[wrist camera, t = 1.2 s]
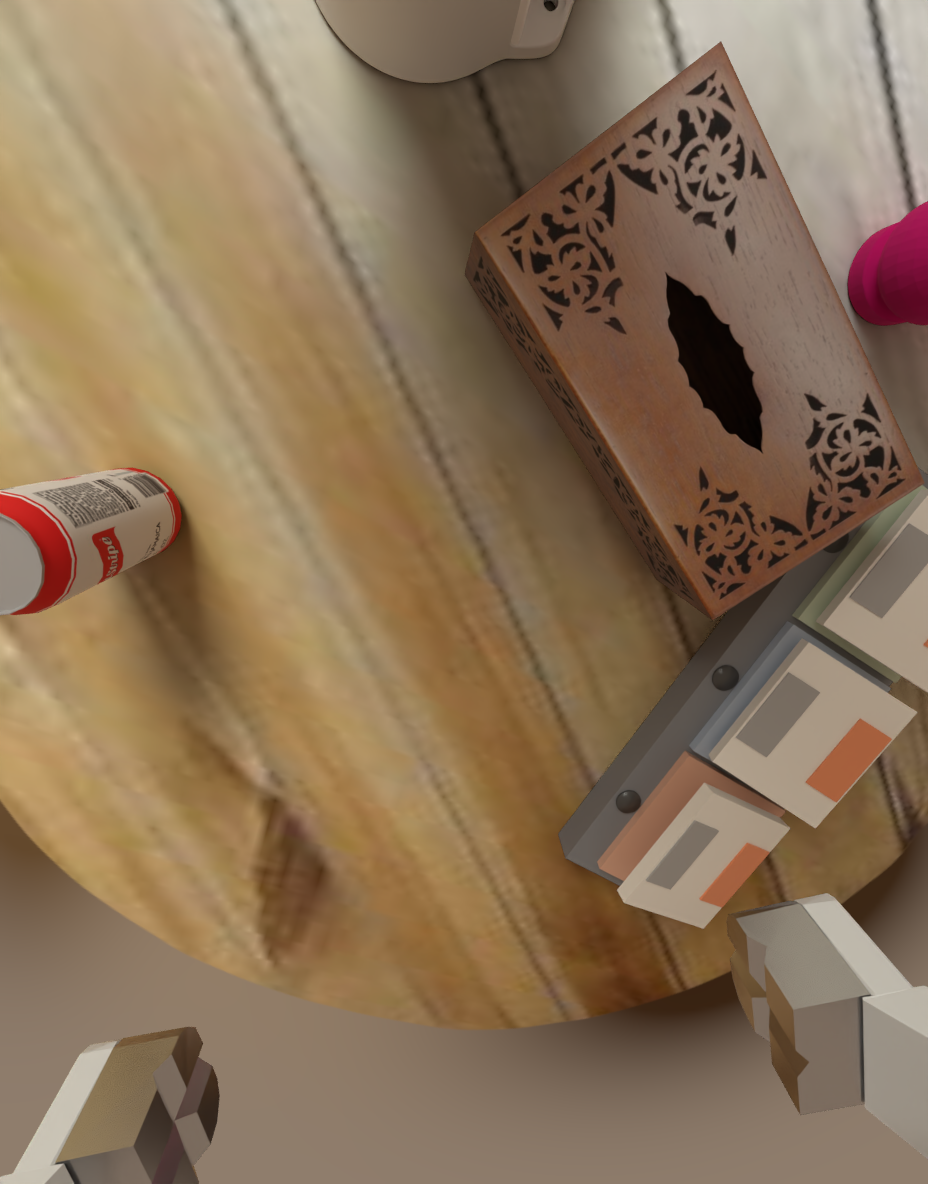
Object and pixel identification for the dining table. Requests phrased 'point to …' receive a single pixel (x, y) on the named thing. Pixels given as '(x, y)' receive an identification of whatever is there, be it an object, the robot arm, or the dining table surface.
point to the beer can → (79, 534)
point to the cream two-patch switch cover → (890, 598)
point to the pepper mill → (893, 273)
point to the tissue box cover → (695, 343)
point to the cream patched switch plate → (703, 857)
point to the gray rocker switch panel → (719, 706)
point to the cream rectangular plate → (810, 733)
